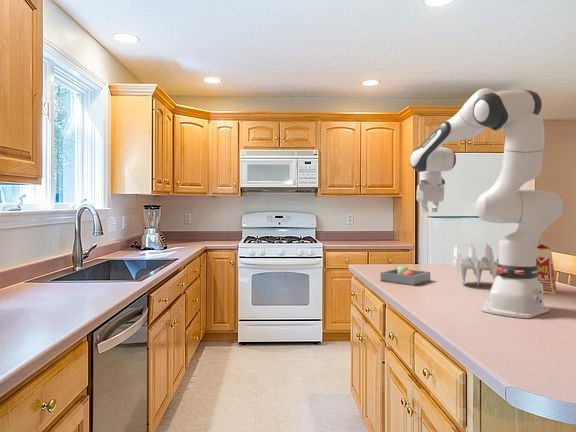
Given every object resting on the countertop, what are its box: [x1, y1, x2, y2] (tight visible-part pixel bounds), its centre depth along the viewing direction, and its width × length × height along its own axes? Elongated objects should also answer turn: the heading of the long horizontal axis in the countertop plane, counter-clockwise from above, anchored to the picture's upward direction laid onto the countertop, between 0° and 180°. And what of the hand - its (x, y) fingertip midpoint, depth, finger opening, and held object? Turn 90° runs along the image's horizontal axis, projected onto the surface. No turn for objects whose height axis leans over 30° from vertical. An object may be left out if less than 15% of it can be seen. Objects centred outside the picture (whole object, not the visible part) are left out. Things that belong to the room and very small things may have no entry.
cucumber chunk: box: [397, 266, 409, 275], centre depth 189 cm, size 4×4×5 cm
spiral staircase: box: [453, 243, 499, 287], centre depth 176 cm, size 18×18×25 cm
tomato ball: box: [403, 269, 414, 276], centre depth 183 cm, size 5×5×5 cm
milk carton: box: [536, 240, 557, 295], centre depth 165 cm, size 9×9×20 cm
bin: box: [380, 268, 431, 287], centre depth 187 cm, size 16×16×4 cm
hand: (430, 212), depth 182 cm, fingers open, 8 cm apart
